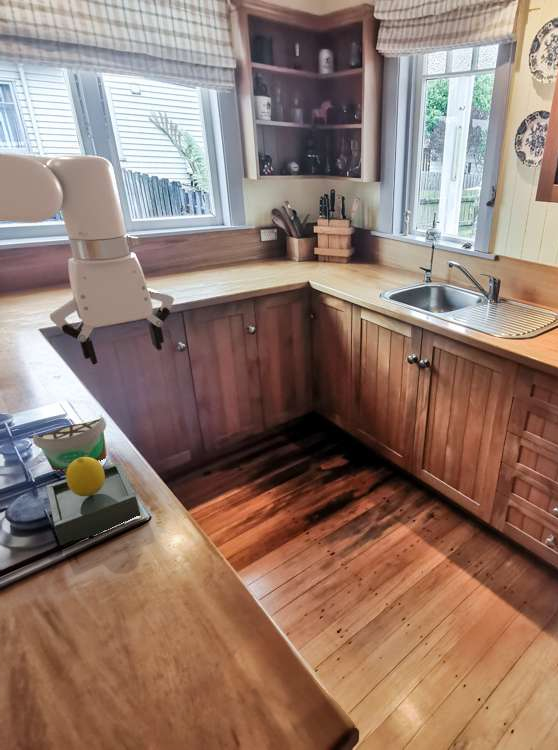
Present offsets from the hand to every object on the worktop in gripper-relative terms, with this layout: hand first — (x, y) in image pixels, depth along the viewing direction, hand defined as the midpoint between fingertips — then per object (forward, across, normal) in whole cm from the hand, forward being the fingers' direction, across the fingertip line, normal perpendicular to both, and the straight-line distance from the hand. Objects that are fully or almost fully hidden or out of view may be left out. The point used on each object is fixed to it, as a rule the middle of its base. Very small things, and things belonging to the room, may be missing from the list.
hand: (126, 354), depth 76 cm
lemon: (+25, +10, 0) cm, 27 cm away
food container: (+29, +10, -14) cm, 34 cm away
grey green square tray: (+28, +10, 0) cm, 30 cm away
